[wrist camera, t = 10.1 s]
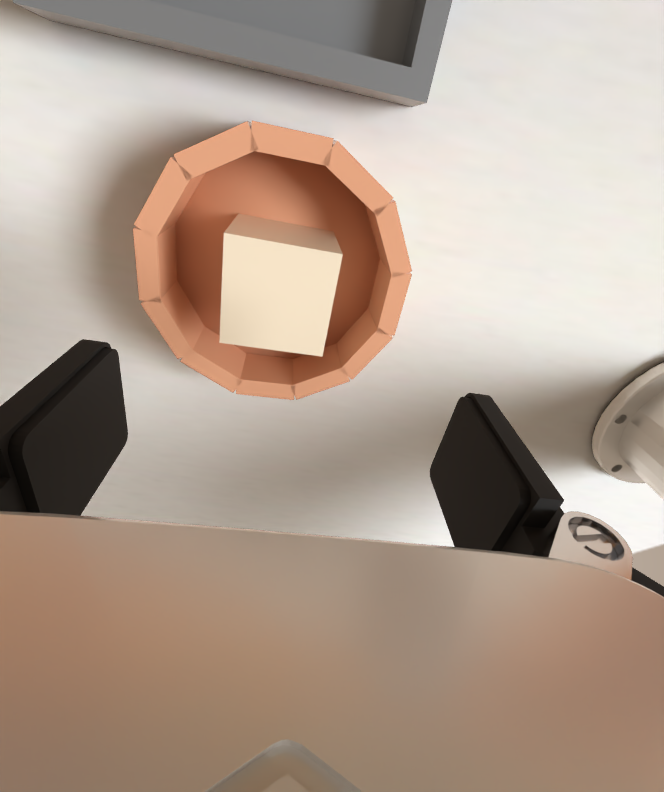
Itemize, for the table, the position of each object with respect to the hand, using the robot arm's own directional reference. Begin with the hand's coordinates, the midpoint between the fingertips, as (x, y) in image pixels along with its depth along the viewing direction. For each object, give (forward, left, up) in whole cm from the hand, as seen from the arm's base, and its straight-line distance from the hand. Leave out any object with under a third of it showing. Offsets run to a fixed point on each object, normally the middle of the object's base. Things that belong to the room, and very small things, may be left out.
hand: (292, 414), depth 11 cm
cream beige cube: (+1, 0, -13) cm, 13 cm away
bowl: (+1, 0, -14) cm, 14 cm away
